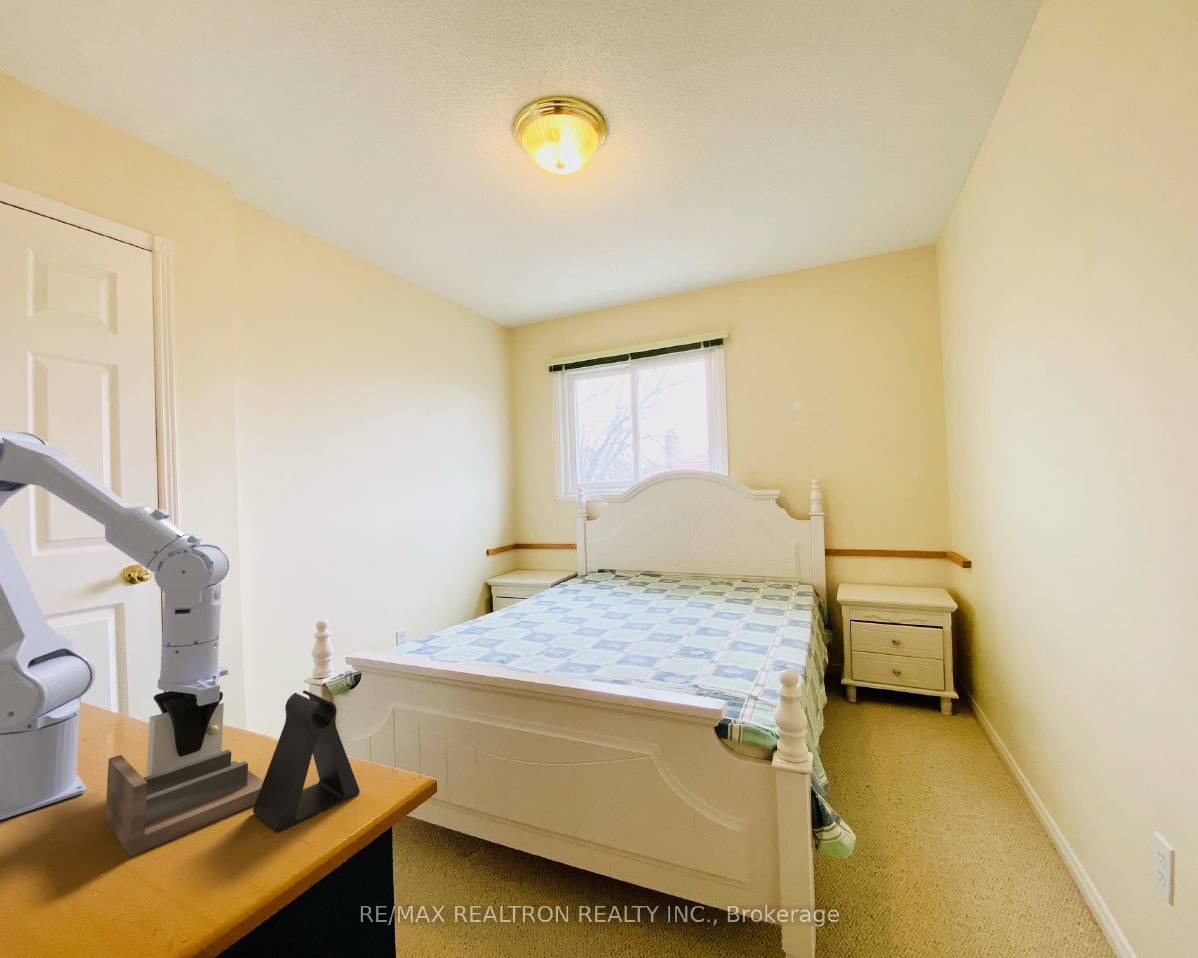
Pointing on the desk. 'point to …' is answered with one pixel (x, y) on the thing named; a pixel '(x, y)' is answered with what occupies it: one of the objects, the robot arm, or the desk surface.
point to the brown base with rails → (175, 798)
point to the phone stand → (305, 766)
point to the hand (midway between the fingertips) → (185, 750)
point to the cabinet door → (164, 746)
